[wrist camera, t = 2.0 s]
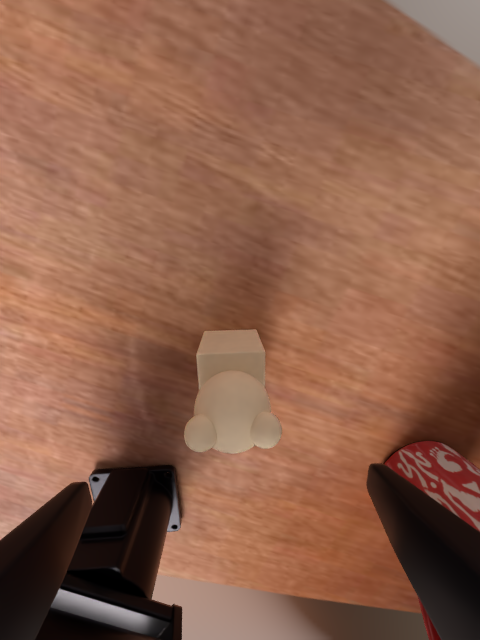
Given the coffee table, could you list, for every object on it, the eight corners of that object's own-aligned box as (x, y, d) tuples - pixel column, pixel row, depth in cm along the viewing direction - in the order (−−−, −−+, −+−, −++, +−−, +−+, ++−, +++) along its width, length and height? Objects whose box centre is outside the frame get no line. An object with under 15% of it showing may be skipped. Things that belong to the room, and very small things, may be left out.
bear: (259, 385, 17) (283, 485, 9) (205, 388, 17) (185, 491, 9) (259, 328, 16) (287, 390, 8) (201, 330, 15) (175, 395, 8)
